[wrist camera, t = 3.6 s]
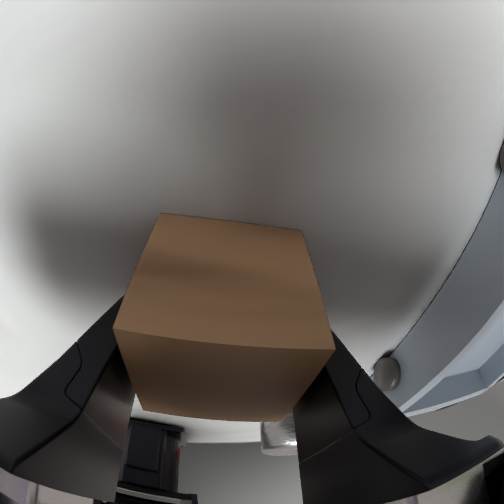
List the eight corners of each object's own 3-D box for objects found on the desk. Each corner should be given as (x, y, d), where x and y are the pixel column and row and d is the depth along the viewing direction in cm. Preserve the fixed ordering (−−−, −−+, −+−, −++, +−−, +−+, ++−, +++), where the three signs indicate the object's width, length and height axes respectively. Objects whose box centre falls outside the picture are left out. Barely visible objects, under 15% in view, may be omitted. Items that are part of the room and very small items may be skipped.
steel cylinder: (310, 401, 17) (317, 453, 14) (253, 401, 17) (255, 456, 14) (332, 374, 15) (344, 435, 12) (266, 374, 15) (270, 441, 11)
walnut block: (271, 321, 12) (281, 421, 8) (164, 309, 11) (143, 410, 8) (301, 230, 9) (335, 349, 5) (160, 213, 8) (112, 328, 5)
